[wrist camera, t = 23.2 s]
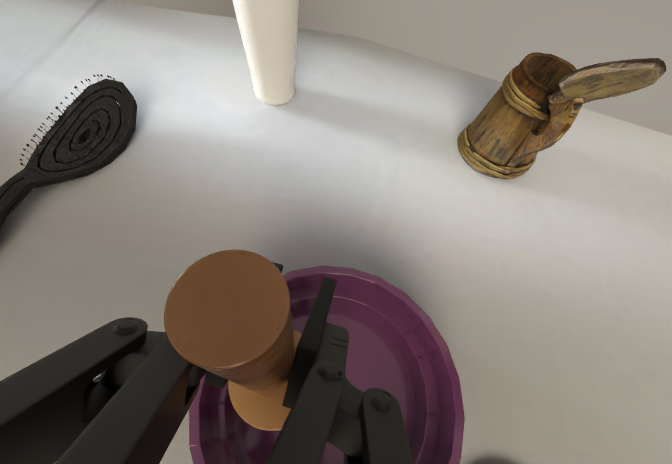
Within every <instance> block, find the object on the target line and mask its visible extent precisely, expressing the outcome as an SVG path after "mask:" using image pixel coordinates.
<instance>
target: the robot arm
mask: <svg viewBox="0 0 672 464" xmlns="http://www.w3.org/2000/svg"><path fill="white" fill-rule="evenodd" d="M272 263H273V262H272ZM273 264H274V265H275V266H276V267H277V268H278V269H279V271H280V272H281V273H282V270H283V265H280V264H277V263H273ZM336 283H337V280H334V279H330V278H327V277H324V278H323V281H322V283H321V286H320V288H319V291H318V294H317V296H316V299H315V301H314V304H313V306H312V309H311V312H310V314H309V317H308V319H307V322H306V324H305V327H304V329H303V332H302V335H301V337H300V340H299V342H298V345H297V348H296V352H295V359H294V364H293V367H292V370H291V372H290V376H289V380H288V384H287V388H286V392H285V396H284V400H283V404H282V406H284V407H287V408H290V409H291V410H290V412H289V414H288V416H287V418H286V420H285V422H284V424H283V427H282V429H281V431H280V433H279V435H278V437H277V439H276V441H275V443H274V445H273V447H272V449H271V451H270V453H269V455H268V457H267V459H266V461H265V463H264V464H320V462H321V458H322V455H323V452H324V448H325V445H326V442H329V443H330V444H332V445H333V446H335V447H336V448H338V449H339V450H341V451H342V452H344V464H414V462H413V458H412V454H411V450H410V446H409V442H408V437H407V433H406V429H405V425H404V421H403V417H402V413H401V409H400V405H399V403H398V401H397V399H396V398H395V397H394V396H393V395H392V394H391V393H389V392H388V391H386V390H383V389H381V388H370V389H367V390H366V391H365V392H363V391H361V390H359V389H358V388H356V387H355V386H353V385H352V384H351V383H350V382H349V380H348V379H347V377H346V373H345V367H346V359H347V352H348V344H349V336H350V335H349V333H348V331H347V328H345V327H342V326H338V325H335V324H331V323H328V322H326V320H327V316H328V312H329V309H330V305H331V301H332V298H333V294H334V290H335V287H336ZM147 328H148V325H147V323H146V322H145V321H143V320H142V319H138V318H130V317H128V318H127V317H126V318H121V319H117V320H114V321H112V322H110V323H108V324H106V325H104V326H102V327H100V328H98V329H97V330H95V331H93V332H91V333H89V334H87V335H85V336H83V337H82V338H80V339H78V340H76V341H74V342H72V343H70V344H69V345H67V346H65V347H63V348H61V349H59V350H57V351H56V352H54V353H52V354H50V355H48V356H46V357H44V358H42V359H41V360H39V361H37V362H35V363H33V364H31V365H29V366H28V367H26V368H24V369H22V370H20V371H18V372H16V373H15V374H13V375H11V376H9V377H7V378H5V379H3V380H1V381H0V464H54V463H55V462H56V461H57V462H56V463H55V464H159V463H160V461H161V459H162V457H163V455H164V454H165V452H166V450H167V448H168V446H169V444H170V443H171V441H172V439H173V437H174V435H175V433H176V431H177V430H178V428H179V426H180V424H181V422H182V420H183V419H184V417H185V415H186V413H187V411H188V409H189V407H190V406H191V404H192V402H193V400H194V398H195V396H196V394H197V393H198V390H199V386H200V380H201V379H202V377H203V376H204V375H205V373H206V372H207V373H206V379H205V383H207V384H210V385H213V386H217V387H220V388H223V389H224V387H225V385H226V384H227V382H228V381H229V380H227V379H225V378H223V377H220V376H218V375H216V374H214V373H212V372H209V371H207V370H205V369H203V368H200V367H198V366H196V365H194V364H192V363H190V362H188V361H187V360H185V359H184V358H182V357H181V356H180V355H179V354H178V353H177V352H176V350H175V349H174V348H173V347H172V345H171V343H170V341H169V339H168V337H167V334H166V332H155V331H147ZM99 374H101V375H100V376H99V377H98V378H96V379H94V378H95V377H96V376H98V375H99ZM93 379H94V380H93Z"/></svg>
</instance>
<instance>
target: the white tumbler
mask: <svg viewBox="0 0 672 464" xmlns="http://www.w3.org/2000/svg"><path fill="white" fill-rule="evenodd" d="M299 1H300V0H233V4H234V9H235V13H236V17H237V21H238V25H239V29H240V33H241V37H242V41H243V45H244V49H245V53H246V57H247V61H248V65H249V69H250V73H251V77H252V82H253V88H254V93H255V95H256V97H257V98H258V99H259V100H260V101H261V102H263V103H265V104H268V105H282V104H285V103H287V102H289V101H290V100H291V99H292V98H293V96H294V94H295V71H296V54H297V39H298V24H299V4H300V3H299Z"/></svg>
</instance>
